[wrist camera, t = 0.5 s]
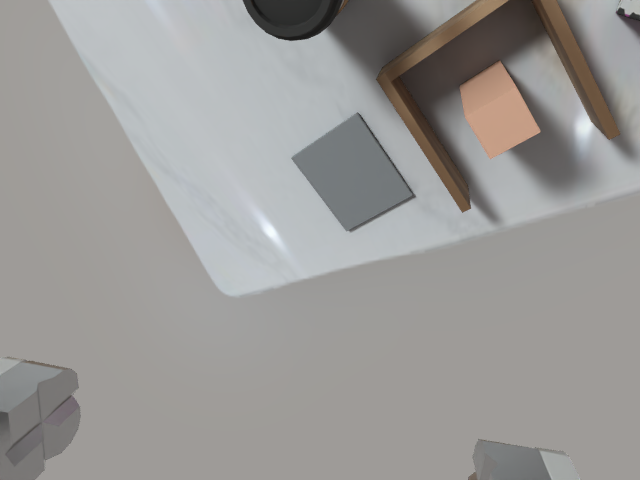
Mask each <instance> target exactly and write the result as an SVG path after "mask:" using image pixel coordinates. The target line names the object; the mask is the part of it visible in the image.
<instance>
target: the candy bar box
mask: <svg viewBox="0 0 640 480" xmlns="http://www.w3.org/2000/svg"><path fill="white" fill-rule="evenodd" d="M616 13H617V14H620V15H624V16H627V17H630V18H633V19H636V20H639V21H640V0H620V2H619V5H618V8H617V10H616Z"/></svg>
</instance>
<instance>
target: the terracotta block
mask: <svg viewBox="0 0 640 480" xmlns="http://www.w3.org/2000/svg"><path fill="white" fill-rule="evenodd" d="M460 92H461V97H462V103H463V109H464V115H465V118H466V120H467V121H468V123H469V125H470V126H471V128H472V130H473V131H474V133H475V135H476V136H477V138H478V140H479V141H480V143H481V145H482V147H483V148H484V150H485V152H486V153H487V155H488V157H489V158H490V159H492V158H493V157H495V156H497V155H499V154H501V153H503V152H505V151H507V150H508V149H510V148H512V147H514V146H516V145H518V144H520V143H521V142H523V141H525V140H527V139H529V138H531V137H533V136H534V135H536V134H538V133H540V132H541V131H540V129H539V127H538V126H537V124H536V122H535V120H534V118H533V116H532V115H531V113H530V111H529V109H528V107H527V105H526V103H525V102H524V100H523V98H522V96H521V94H520V92H519V91H518V89H517V87H516V85H515V84H514V82H513V80H512V79H511V77H510V76H509V74H508V73H507V71H506V69H505V68H504V66H503V65H502V63H501V61H500V60H499V61H497V62H496V63H494V64H493V65H491V66H490V67H488V68H486V69H485V70H483V71H482V72H480V73H479V74H477V75H475V76H474V77H472V78H471V79H469V80H467V81H466V82H464V83H463V84H461V85H460Z"/></svg>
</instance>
